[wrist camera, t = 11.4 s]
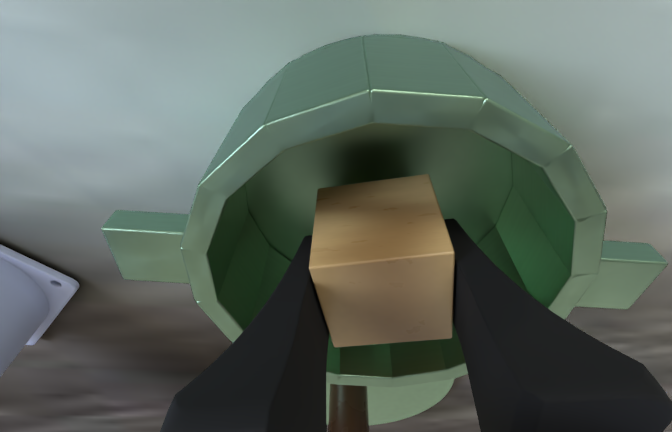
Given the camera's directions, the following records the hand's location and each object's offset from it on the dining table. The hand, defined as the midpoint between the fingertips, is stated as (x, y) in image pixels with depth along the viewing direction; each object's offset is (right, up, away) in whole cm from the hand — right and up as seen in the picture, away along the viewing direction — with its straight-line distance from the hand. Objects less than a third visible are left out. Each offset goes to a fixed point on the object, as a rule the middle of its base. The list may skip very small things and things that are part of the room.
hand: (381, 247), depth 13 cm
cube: (0, +1, +1) cm, 1 cm away
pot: (0, +2, +3) cm, 4 cm away
